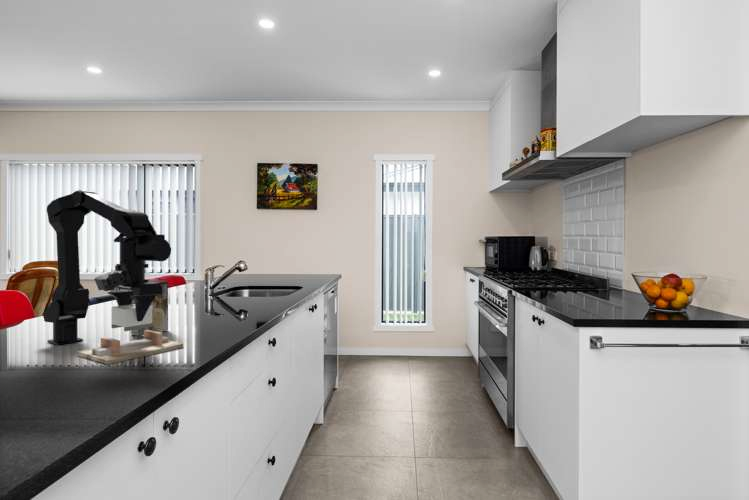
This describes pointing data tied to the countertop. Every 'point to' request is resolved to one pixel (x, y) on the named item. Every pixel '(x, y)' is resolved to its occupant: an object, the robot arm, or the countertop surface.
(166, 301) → the coffee box
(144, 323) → the block
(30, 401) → the countertop surface
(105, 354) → the rail board
